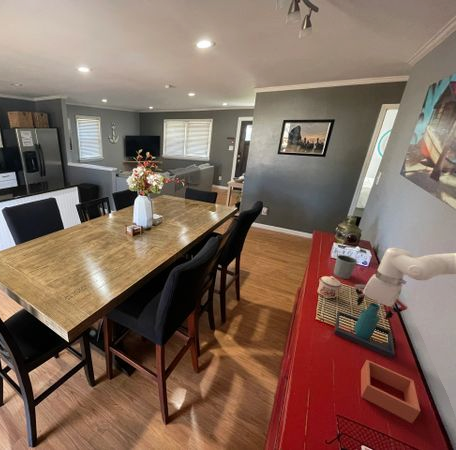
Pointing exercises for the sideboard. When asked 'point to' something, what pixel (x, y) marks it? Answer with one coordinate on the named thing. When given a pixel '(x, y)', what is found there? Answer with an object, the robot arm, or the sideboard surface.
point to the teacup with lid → (330, 287)
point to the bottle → (367, 321)
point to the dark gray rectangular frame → (368, 343)
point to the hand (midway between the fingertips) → (372, 311)
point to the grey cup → (344, 266)
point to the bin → (385, 400)
